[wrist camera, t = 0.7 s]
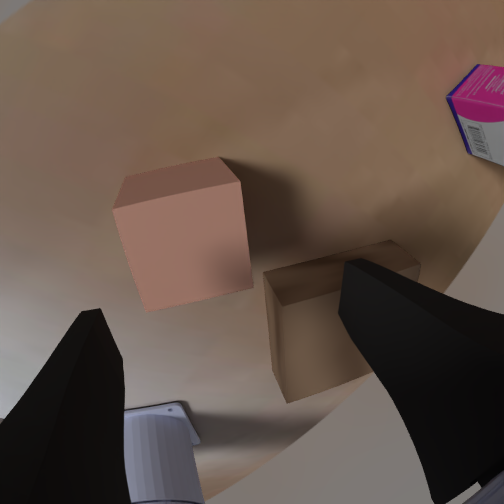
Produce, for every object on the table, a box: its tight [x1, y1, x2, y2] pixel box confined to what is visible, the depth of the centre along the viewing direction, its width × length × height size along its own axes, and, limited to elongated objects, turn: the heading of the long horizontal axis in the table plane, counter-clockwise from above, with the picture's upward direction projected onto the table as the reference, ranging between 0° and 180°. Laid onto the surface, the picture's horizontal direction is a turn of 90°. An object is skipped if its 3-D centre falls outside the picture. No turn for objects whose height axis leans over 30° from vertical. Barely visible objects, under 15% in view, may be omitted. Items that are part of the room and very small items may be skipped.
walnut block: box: [263, 240, 421, 403], centre depth 22 cm, size 10×10×4 cm
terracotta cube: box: [112, 157, 254, 312], centre depth 15 cm, size 5×5×5 cm
